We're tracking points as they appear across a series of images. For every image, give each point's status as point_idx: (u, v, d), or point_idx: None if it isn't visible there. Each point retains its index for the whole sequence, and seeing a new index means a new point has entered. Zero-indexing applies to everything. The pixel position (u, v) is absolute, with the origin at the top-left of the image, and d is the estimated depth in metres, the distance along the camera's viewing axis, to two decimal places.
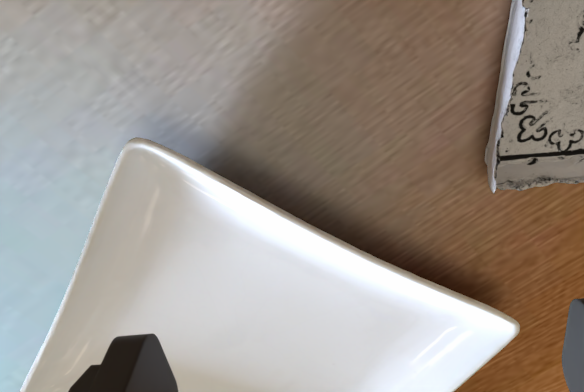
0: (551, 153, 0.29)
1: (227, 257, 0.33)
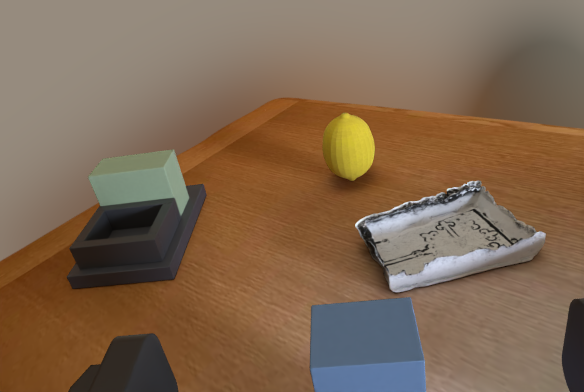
0: (502, 235, 0.43)
1: None
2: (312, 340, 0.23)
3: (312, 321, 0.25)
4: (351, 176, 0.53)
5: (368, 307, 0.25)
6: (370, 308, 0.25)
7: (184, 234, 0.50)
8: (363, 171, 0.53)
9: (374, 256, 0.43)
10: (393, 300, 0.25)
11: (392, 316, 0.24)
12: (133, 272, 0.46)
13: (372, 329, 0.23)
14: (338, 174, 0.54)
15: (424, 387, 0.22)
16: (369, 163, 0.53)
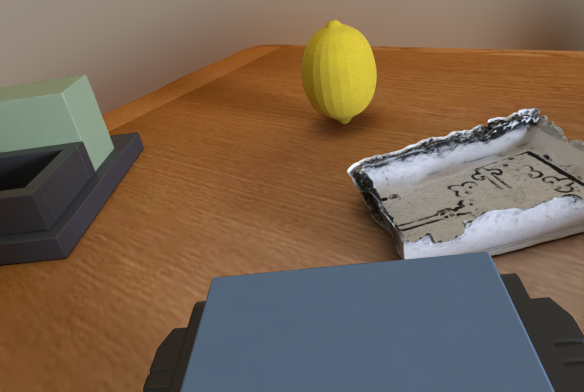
0: (582, 184, 0.27)
1: None
2: (187, 382, 0.07)
3: (203, 321, 0.08)
4: (343, 114, 0.37)
5: (368, 280, 0.09)
6: (375, 283, 0.08)
7: (94, 194, 0.33)
8: (360, 106, 0.37)
9: (376, 217, 0.27)
10: (440, 261, 0.09)
11: (442, 305, 0.08)
12: (2, 247, 0.29)
13: (381, 345, 0.07)
14: (324, 112, 0.37)
15: None
16: (369, 94, 0.37)
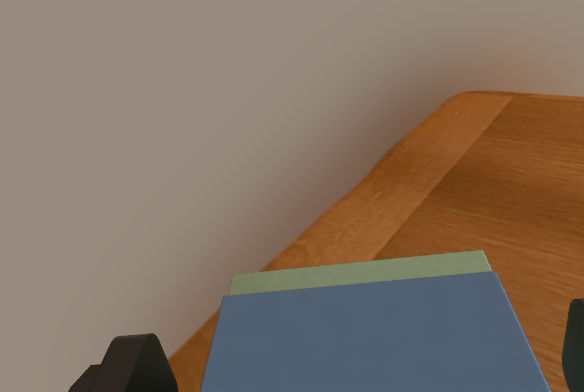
0: None
1: None
2: None
3: (215, 340, 0.08)
4: None
5: (377, 300, 0.09)
6: (384, 303, 0.09)
7: None
8: None
9: None
10: (447, 280, 0.09)
11: (450, 326, 0.08)
12: None
13: (391, 367, 0.07)
14: None
15: None
16: None
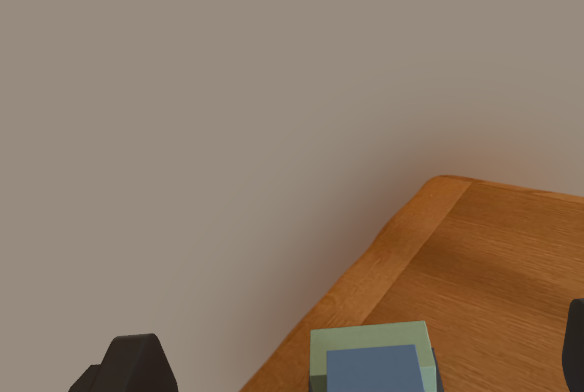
0: None
1: None
2: (328, 384, 0.27)
3: (328, 366, 0.28)
4: None
5: (377, 353, 0.28)
6: (379, 354, 0.28)
7: None
8: None
9: None
10: (399, 347, 0.28)
11: (399, 362, 0.27)
12: None
13: (381, 374, 0.27)
14: None
15: None
16: None
